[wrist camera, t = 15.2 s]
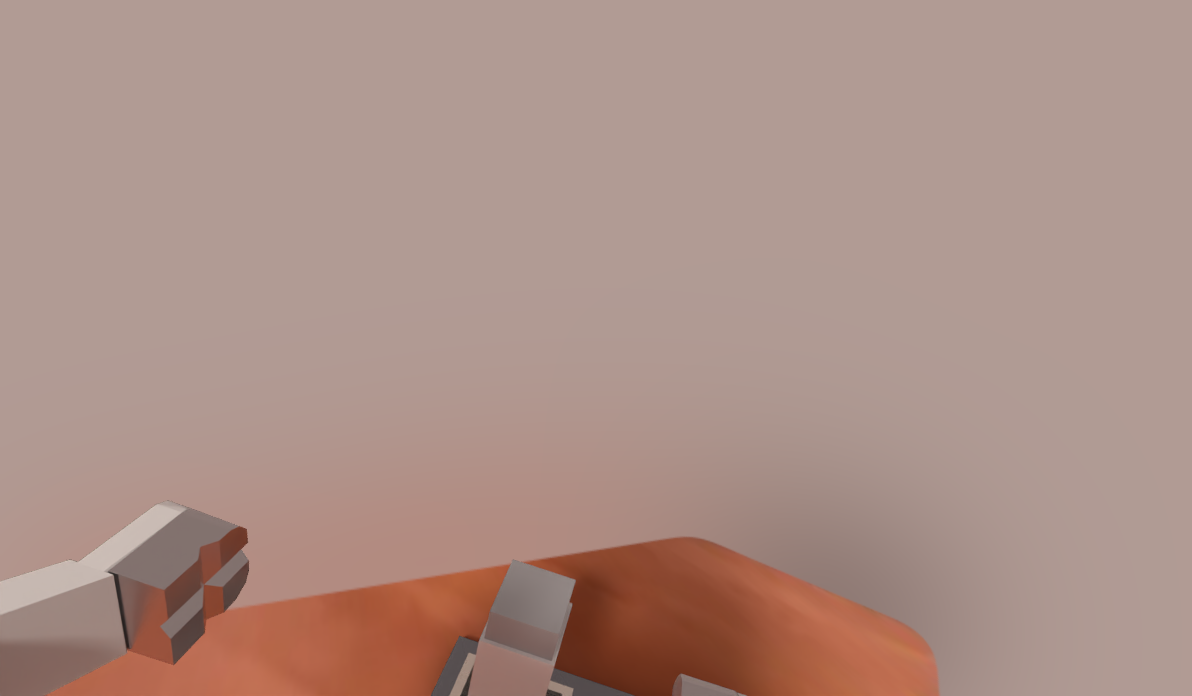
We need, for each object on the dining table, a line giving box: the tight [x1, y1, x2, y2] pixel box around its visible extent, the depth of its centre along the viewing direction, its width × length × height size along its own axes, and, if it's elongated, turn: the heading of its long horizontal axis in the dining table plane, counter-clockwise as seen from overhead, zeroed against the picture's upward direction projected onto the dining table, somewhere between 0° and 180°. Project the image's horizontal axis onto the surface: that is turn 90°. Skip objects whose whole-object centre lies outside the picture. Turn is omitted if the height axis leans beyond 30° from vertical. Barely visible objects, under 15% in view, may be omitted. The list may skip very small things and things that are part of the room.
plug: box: [468, 560, 576, 696], centre depth 34 cm, size 4×5×13 cm
